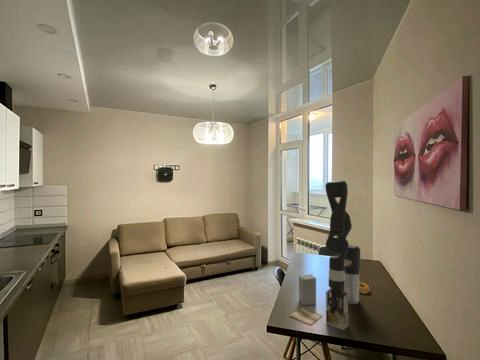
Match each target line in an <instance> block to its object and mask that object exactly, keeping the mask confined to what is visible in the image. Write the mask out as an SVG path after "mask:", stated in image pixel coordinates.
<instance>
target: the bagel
mask: <svg viewBox="0 0 480 360" xmlns="http://www.w3.org/2000/svg"><path fill="white" fill-rule="evenodd" d="M370 291H371V288H370V286H369V285H368V284H367V283H365V282H362V281H361V282H360V281H359V294H363V295H366V294H369V293H370Z"/></svg>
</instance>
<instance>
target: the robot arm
mask: <svg viewBox="0 0 480 360" xmlns="http://www.w3.org/2000/svg"><path fill="white" fill-rule="evenodd" d="M325 193H326V196H327V199H328V204H329V206H330V210H331V215H330V219H329V232H328V236H327V239H326V241H325V248H326V250H327V251H328V252H330V253H339V254H337V255H332V256H330V257H329V259H328V260H329V265H328V266H329V269H328V287H329V289H332V290H331V293H329V292H328V305H330V313H332V314H335V304H336V302H337V297H336V295H339V294H340V293H342V292H346V293H348V304H350V305H357V304H359V303H360V293H359V282H360V268H361V267H360V266H361V249H360V247H359V246H358V245H352V244H349V241H348V240H347V237H348V235H349V233H350V232H351V229H352V222H351V217H350V214H349V213H348V212H347V210H346V208H347V203H348V202H347V201H348V193H349V191H348V184H347V181H345V180H335V181H332V180H331V181H327V182H326V183H325ZM336 198H339V201H337V199H336ZM335 236H336V237H335ZM345 260H346V261H349V262H350V264H345ZM341 291H342V292H341ZM334 297H336V299H334Z"/></svg>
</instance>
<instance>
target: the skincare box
mask: <svg viewBox="0 0 480 360" xmlns="http://www.w3.org/2000/svg"><path fill="white" fill-rule="evenodd" d="M298 298H299V299H298V301H299V303H301V305H302V306H303V307H304V306H311V305H316V304H317V277H315V276H314V274H311V273H309V274H308V273H307V274H299V275H298Z"/></svg>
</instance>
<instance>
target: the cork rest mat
mask: <svg viewBox="0 0 480 360" xmlns="http://www.w3.org/2000/svg"><path fill="white" fill-rule="evenodd" d="M322 316H323V315H322V314H320V313H317V312H315V311H313V310H310V309H308V308H305V307H300V308H298V309H297V310H295V311H294V312H293V313H291V314H289V317H290V318H293V319H295V320H297V321H300V322H302V323H303V324H307V325H309V326H312V325H313V324H315V323H316V322H317V321H318V320H319V319H321V318H322Z"/></svg>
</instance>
